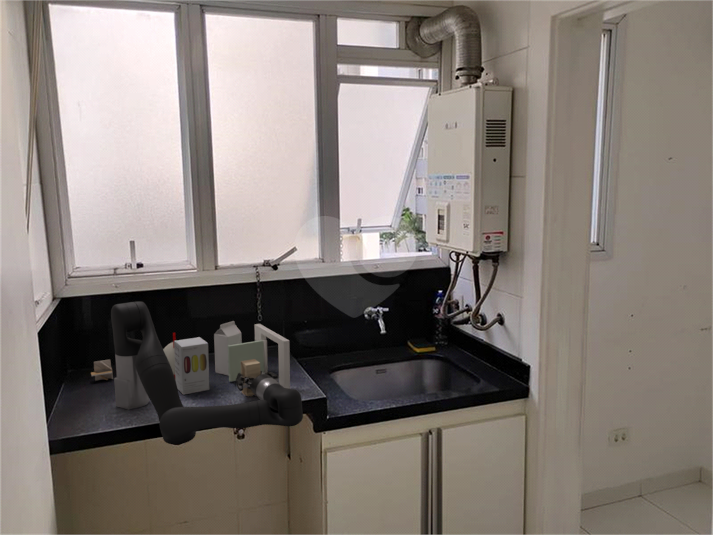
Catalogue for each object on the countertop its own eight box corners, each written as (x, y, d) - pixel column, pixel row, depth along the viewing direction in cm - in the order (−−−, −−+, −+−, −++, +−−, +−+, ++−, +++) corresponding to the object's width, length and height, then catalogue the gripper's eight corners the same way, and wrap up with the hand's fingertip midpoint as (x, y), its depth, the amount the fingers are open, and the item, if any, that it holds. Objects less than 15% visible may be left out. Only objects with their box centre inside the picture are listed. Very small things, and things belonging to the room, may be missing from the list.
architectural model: (113, 381, 203) (112, 362, 202) (92, 385, 200) (90, 365, 199) (112, 378, 206) (111, 359, 205) (91, 382, 203) (90, 362, 202)
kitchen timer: (194, 365, 220) (192, 327, 218) (196, 376, 208) (194, 337, 205) (156, 368, 216) (154, 330, 214) (155, 380, 203) (153, 340, 201)
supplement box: (182, 395, 190) (180, 347, 187) (174, 387, 197) (172, 340, 195) (210, 389, 195) (208, 342, 192) (201, 381, 203) (199, 336, 200)
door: (265, 372, 211) (264, 338, 209) (268, 374, 209) (267, 340, 206) (227, 379, 203) (226, 344, 201) (230, 381, 201) (229, 346, 199)
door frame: (255, 370, 214) (254, 324, 211) (260, 369, 215) (259, 323, 212) (284, 392, 192) (283, 341, 190) (290, 391, 193) (289, 340, 191)
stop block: (261, 394, 191) (260, 363, 189) (247, 397, 188) (246, 365, 187) (255, 389, 195) (254, 358, 193) (241, 392, 193) (240, 361, 191)
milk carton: (242, 371, 214) (241, 322, 211) (229, 376, 208) (227, 326, 205) (229, 367, 218) (227, 319, 215) (215, 372, 212) (213, 323, 209)
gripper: (246, 405, 176) (228, 388, 190) (288, 396, 183) (267, 380, 197) (245, 382, 174) (227, 367, 189) (288, 374, 182) (267, 360, 196)
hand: (248, 374), depth 193 cm, fingers open, 6 cm apart
